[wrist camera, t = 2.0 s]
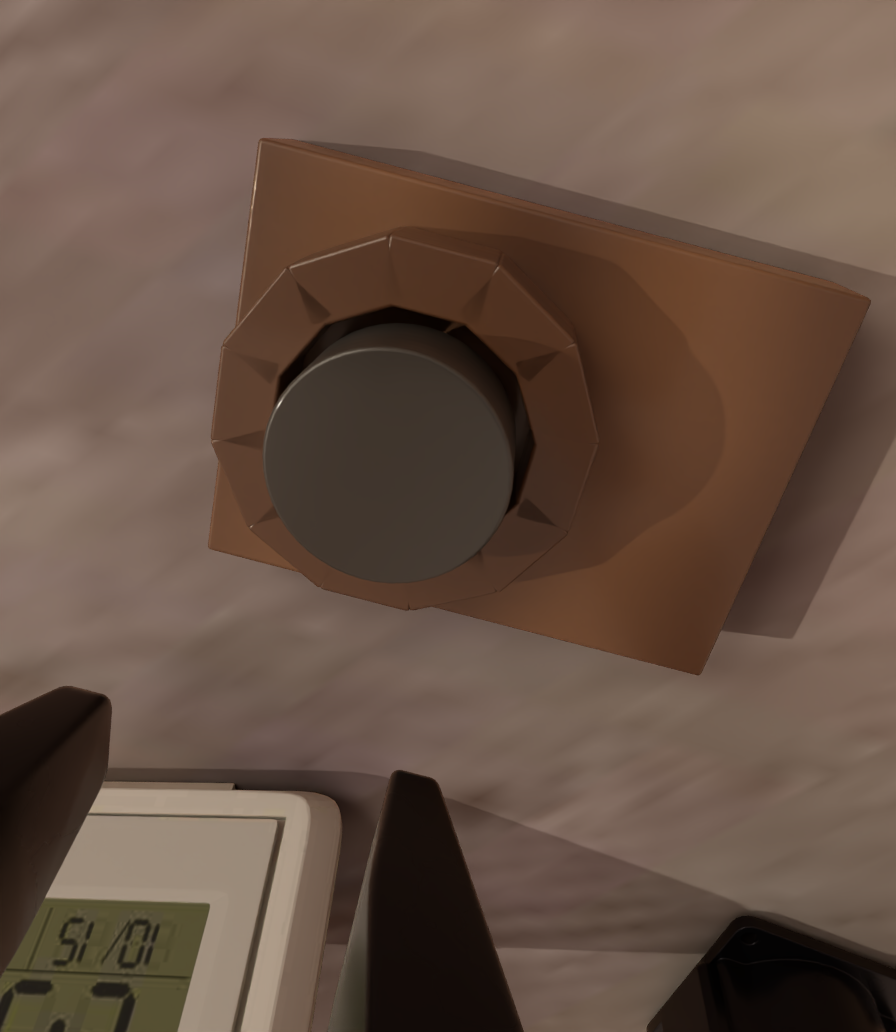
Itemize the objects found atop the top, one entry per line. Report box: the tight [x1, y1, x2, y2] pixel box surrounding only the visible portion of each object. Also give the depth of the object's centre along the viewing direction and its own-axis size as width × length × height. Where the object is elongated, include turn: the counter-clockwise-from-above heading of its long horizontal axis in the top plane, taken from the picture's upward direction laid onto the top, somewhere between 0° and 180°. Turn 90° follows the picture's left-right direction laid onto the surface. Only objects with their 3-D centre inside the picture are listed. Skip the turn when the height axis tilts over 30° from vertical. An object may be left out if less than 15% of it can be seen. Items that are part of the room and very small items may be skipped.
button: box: [262, 323, 516, 584], centre depth 15 cm, size 4×4×2 cm
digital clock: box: [0, 781, 342, 1032], centre depth 22 cm, size 16×9×11 cm, turn 83°
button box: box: [208, 138, 871, 675], centre depth 17 cm, size 12×9×4 cm
